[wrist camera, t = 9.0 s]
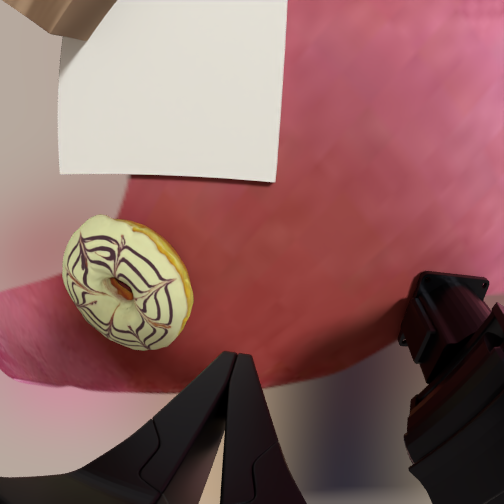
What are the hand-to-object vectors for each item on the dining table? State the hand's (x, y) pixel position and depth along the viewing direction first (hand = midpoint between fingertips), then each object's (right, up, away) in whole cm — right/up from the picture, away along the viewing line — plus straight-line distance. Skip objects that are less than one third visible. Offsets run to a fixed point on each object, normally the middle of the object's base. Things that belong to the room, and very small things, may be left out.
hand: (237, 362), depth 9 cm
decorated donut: (-9, +2, +14) cm, 17 cm away
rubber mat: (-6, +17, +7) cm, 19 cm away
